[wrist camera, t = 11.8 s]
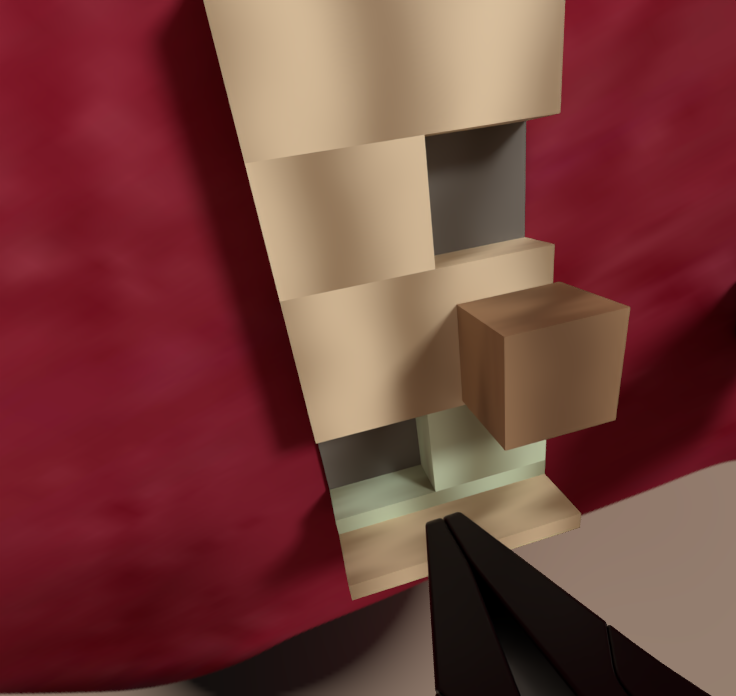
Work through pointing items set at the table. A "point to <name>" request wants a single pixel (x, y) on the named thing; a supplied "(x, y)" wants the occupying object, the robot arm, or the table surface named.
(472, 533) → the robot arm
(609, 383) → the walnut block
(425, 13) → the trap deck
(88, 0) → the table surface
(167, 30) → the table surface
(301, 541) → the table surface
